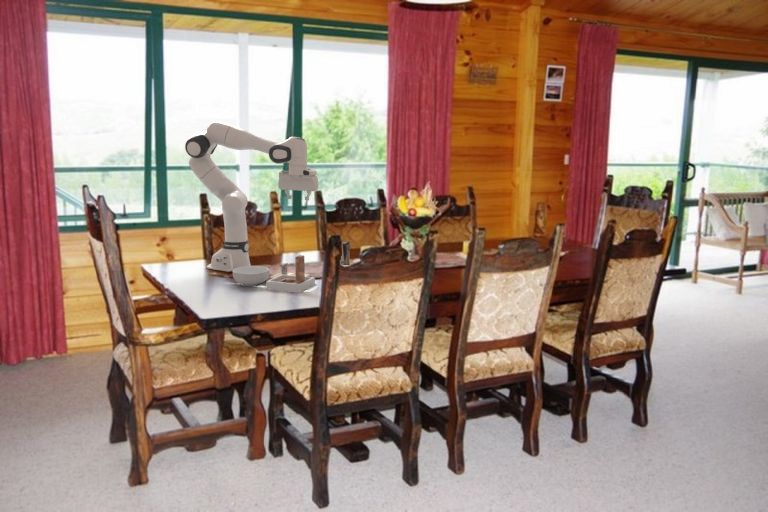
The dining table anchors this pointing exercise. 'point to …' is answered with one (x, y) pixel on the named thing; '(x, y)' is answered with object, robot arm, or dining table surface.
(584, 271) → the dining table surface
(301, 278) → the tabbed ring
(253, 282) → the cereal bowl
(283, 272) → the stake board
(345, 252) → the coffee box
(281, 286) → the grey tray
